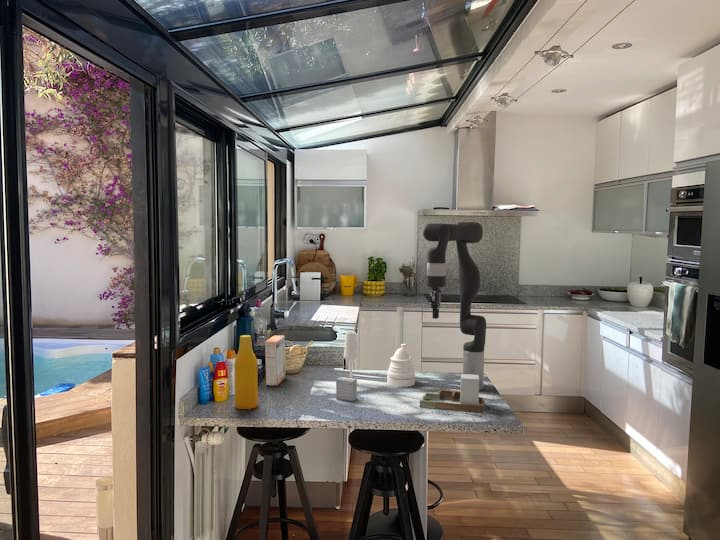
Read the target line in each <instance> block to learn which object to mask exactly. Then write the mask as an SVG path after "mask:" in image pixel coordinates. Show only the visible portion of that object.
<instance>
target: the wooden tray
mask: <svg viewBox="0 0 720 540" xmlns="http://www.w3.org/2000/svg"><path fill="white" fill-rule="evenodd" d="M432 399H433V400H434V401H433V400H432ZM485 400H486V399H485V397H480V396H479V406H478V405H468V404H460V403H455V402H460V391H458V390H457V391H456V390H445V389H439V390H438V393H437V392H436V393H435V392H433V393H432V392H424V393H423V395H422V397H421V398H420V399H419V408H427V407H429V408H430V409H438V408H441V409H440V410H447V411H449V410H451V411H458V412H459V411H460V412H461V411H462V412H470V411H471V412H472V413H480V412H482V414H483V412H484V409H485V405H486V404H485V403H486V401H485ZM442 401H443V402H442ZM445 401H450V402H445ZM429 408H428V409H429ZM471 412H470V413H471Z"/></svg>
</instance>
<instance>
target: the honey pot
mask: <svg viewBox="0 0 720 540" xmlns="http://www.w3.org/2000/svg"><path fill="white" fill-rule="evenodd" d="M406 346H407V344H406V343H401V344H400V347H399V348H397V350H396V351H395V352H394V354H393V356H391V357H390V361H391V362H390V363H389V367H388V370H387V371H386V373H387V375H386V376H387V377H386V383H387V385H389V386H391V385H392V386H391V387H395V386H397V387H396V388H408V386H409V387H413V386H414V385H415V384H416V379H415V378H416V372H415V370H414V366H413V364H412V363H413V362H412V357H411V356H409V354H408V352H407V351H406V349H405V348H406ZM412 385H413V386H412Z"/></svg>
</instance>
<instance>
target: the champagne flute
mask: <svg viewBox="0 0 720 540" xmlns="http://www.w3.org/2000/svg"><path fill="white" fill-rule="evenodd" d="M344 339H345V340H344V351H343V358H344V360H345V361H346V362H347V363H348V364H349V378H353V363H355V362H356V361H357V359H358V358H359V351H358V350H359V349H358V341H357V340H358V339H357V332H356V331H347V332H345V338H344ZM358 385H359V382H357V386H358Z"/></svg>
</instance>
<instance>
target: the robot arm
mask: <svg viewBox="0 0 720 540" xmlns="http://www.w3.org/2000/svg"><path fill="white" fill-rule="evenodd" d="M422 235H423V238H424V239H425V240H426V241H428V242H437V245H436V246H433V247H430V248H428V249H427V258H426V259H427V260H426V261H427V262H426V263H427V264H426V284H425V285H426V287H428V288H429V287H430V288H431V291H430V292H429V294H430V295H429V296H430V297H429V299H430V307H431V309H432V317H431V318H432V319H439V317H440V312H439V311H440V307H441V302H442V294H443V293H442V290H441V288H444V287H446V286H447V285H446V284H447V281H446V280H447V277H446V276H447V267H446V253H447V248H448V243H449V242H455V245H456V252H457V260H458V261H457V263H458V283H459V284H458V285H459V296H460V298H459V299H460V300H459V303H460V305H459V306H460V308H459V329H460V332H461V334H464V335H468V336H474V337H473V340H472V341H467V342H465V343H464V344H463V346H462V347H463V348H462V349H463V351H462V352H463V354H462V355H463V358H462V359H463V360H462V374H471V375H479V391H481V390H483V389H484V384H485V383H484V382H485V381H484V379H485V377H484V375H485V372H484V371H485V347H486V336H487V320H486V317H485V316H483V315H477V314H472V312H471V308H472V304H473V301H474V300H475V297H476V296H477V294H478V293H479V291H480V289H481V273H480V270H479V268H478V266H477V265H476V263H475V261H474V260H473V258H472V257H471V255H470V253H469V250H468V246H467V245H468V244H477V243H479V242H481V240H482V239H483V235H484V229H483V226H482V225H481V223H479V222H476V221H462V222H461V221H460V222H457V224H456V223H455V224H454V223H443V222H442V223H440V222H439V223H428V224H426V225H424V227H423V229H422Z"/></svg>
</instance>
